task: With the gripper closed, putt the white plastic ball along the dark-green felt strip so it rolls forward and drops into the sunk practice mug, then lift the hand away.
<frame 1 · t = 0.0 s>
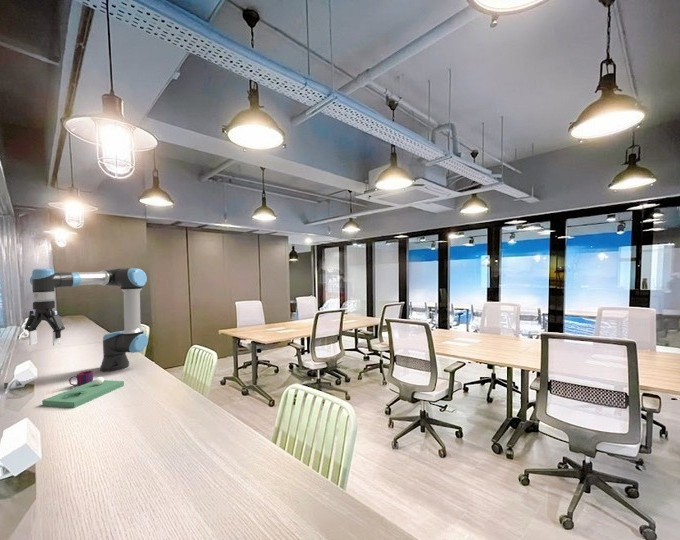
hand: (44, 344, 143), 28 cm above the table, fingers open, 13 cm apart
ball: (99, 384, 158), point 2 cm above the table, touching green
green: (86, 394, 151), on the table
mug: (81, 386, 164), on the table
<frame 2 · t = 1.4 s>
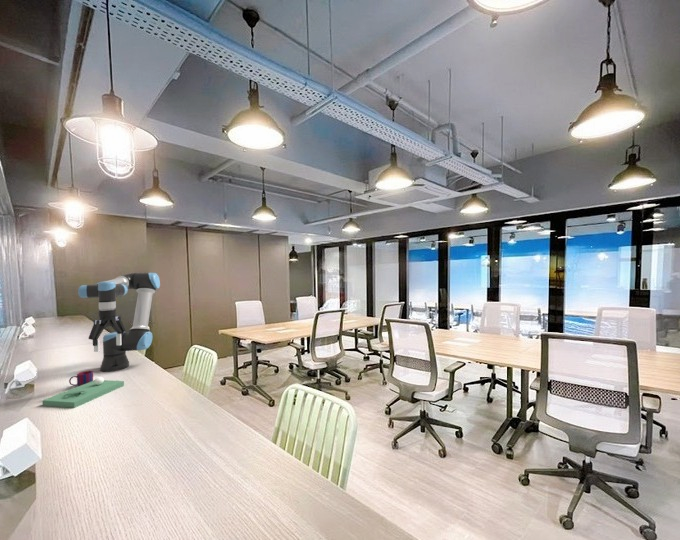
hand: (108, 348, 164), 20 cm above the table, fingers open, 12 cm apart
nothing on the table moved.
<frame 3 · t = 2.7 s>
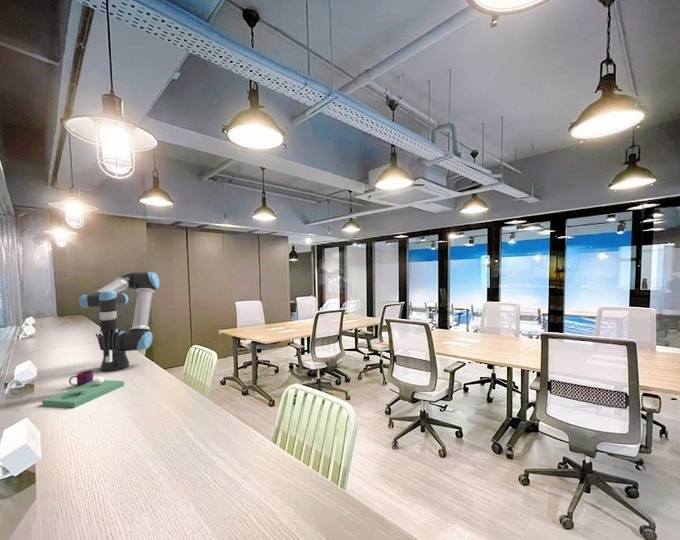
hand: (108, 361, 164), 13 cm above the table, fingers closed
nothing on the table moved.
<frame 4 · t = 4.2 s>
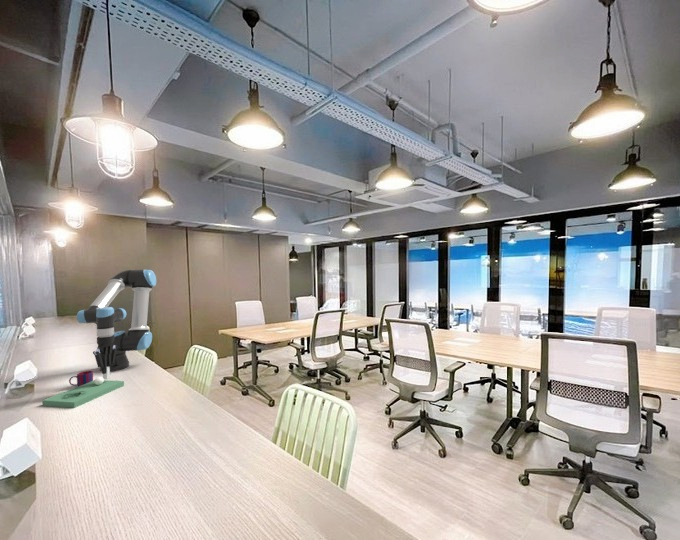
hand: (106, 378, 162), 4 cm above the table, fingers closed
nothing on the table moved.
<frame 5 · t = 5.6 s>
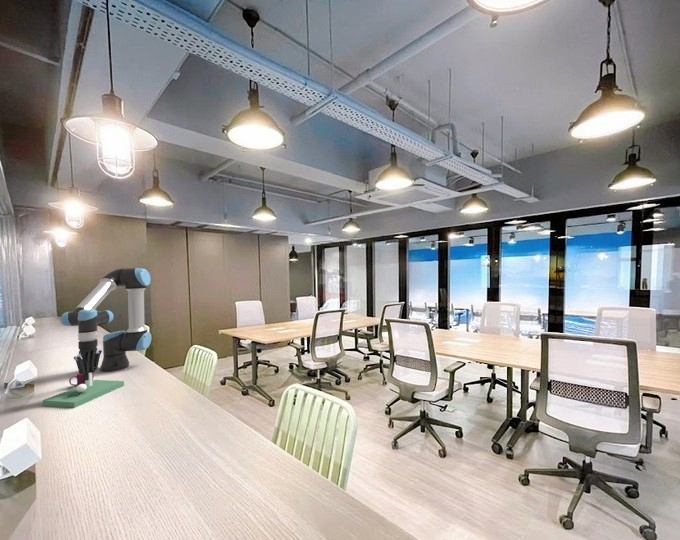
hand: (88, 385, 153), 4 cm above the table, fingers closed
ball: (77, 389, 147), point 5 cm above the table, tilted 92°, touching green
everything else where it was.
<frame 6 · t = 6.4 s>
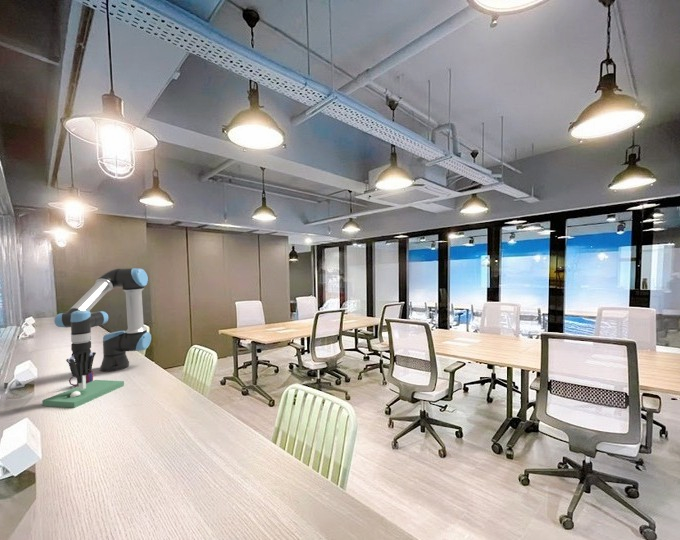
hand: (82, 388, 149), 4 cm above the table, fingers closed
ball: (76, 399, 147), resting in green, tilted 10°
everything else where it was.
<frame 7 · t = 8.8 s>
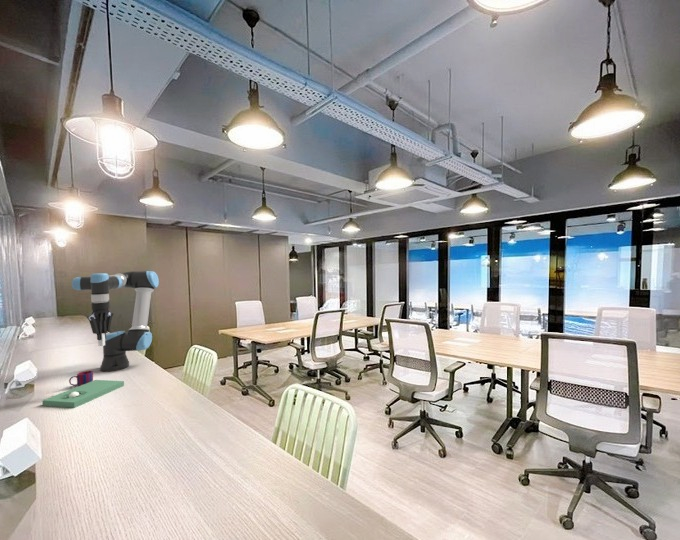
hand: (101, 345, 160), 23 cm above the table, fingers closed
ball: (76, 398, 146), resting in green, tilted 29°
everything else where it was.
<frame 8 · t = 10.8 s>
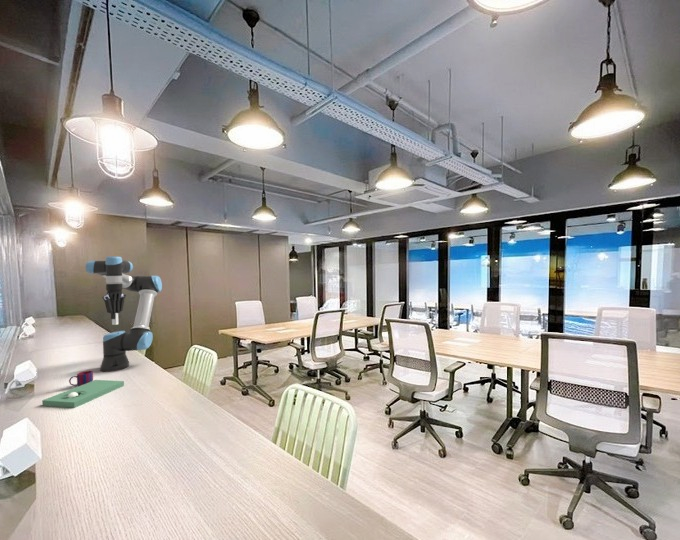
hand: (115, 324, 170), 32 cm above the table, fingers closed
ball: (76, 398, 146), point 1 cm above the table, tilted 46°
everything else where it was.
at the end: ball 0.9 cm from the target spot in the green, point 0.6 cm above the green's base; the gripper is holding nothing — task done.
